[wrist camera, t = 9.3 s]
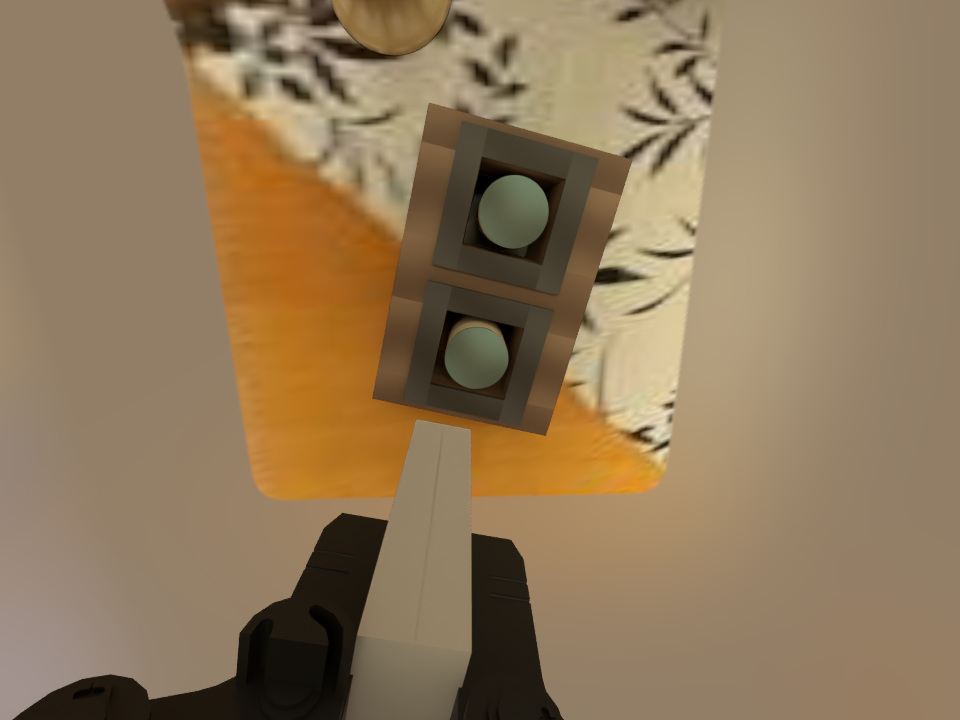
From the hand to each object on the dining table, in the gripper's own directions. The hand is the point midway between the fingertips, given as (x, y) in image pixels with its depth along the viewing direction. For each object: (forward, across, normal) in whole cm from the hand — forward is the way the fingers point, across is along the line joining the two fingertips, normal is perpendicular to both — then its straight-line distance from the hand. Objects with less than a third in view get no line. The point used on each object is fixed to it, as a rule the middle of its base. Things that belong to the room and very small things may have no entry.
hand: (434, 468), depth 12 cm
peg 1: (+24, +2, -1) cm, 24 cm away
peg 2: (+24, +2, +8) cm, 25 cm away
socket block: (+25, +2, +3) cm, 25 cm away
